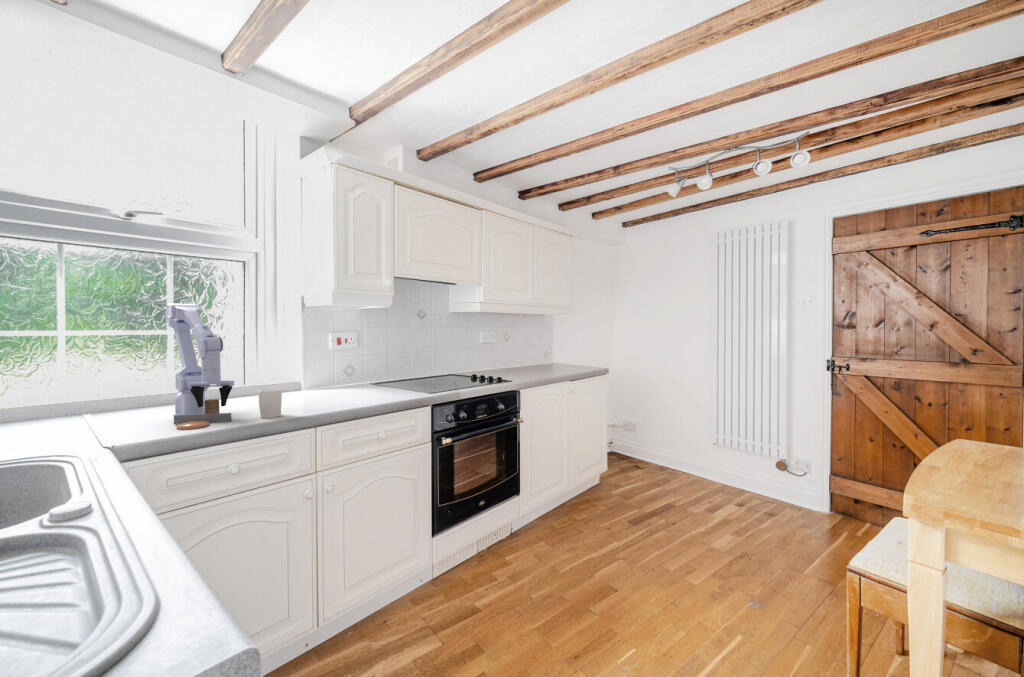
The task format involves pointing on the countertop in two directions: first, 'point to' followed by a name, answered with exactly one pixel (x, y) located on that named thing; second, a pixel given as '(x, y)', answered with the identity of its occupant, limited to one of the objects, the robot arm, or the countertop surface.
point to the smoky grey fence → (203, 418)
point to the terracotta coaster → (192, 425)
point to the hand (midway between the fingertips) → (212, 406)
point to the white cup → (270, 403)
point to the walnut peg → (212, 406)
